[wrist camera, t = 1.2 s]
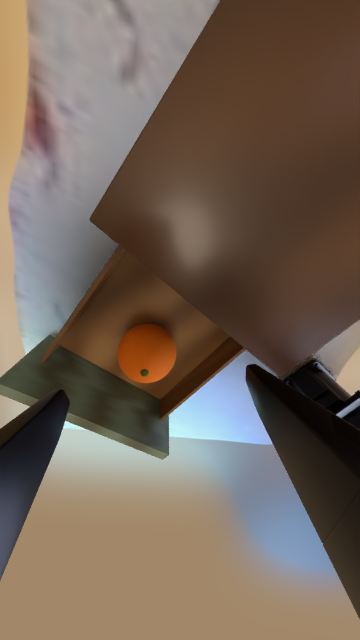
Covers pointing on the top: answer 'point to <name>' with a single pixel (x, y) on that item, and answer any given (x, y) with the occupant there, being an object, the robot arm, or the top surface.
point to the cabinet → (255, 177)
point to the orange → (146, 353)
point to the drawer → (102, 363)
